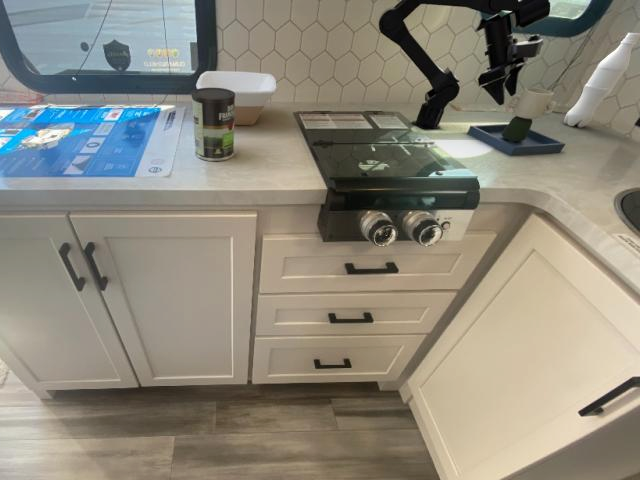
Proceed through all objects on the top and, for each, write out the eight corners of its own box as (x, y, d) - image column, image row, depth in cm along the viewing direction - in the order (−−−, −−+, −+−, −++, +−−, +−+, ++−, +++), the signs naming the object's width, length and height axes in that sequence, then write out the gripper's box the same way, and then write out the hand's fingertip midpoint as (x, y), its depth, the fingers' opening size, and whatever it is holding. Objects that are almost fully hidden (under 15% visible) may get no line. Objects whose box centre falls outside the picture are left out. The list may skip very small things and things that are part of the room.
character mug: (534, 141, 103) (564, 92, 94) (529, 147, 99) (560, 97, 90) (494, 132, 108) (519, 84, 99) (488, 137, 104) (514, 88, 95)
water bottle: (564, 126, 116) (624, 33, 99) (558, 120, 121) (615, 30, 103) (588, 129, 114) (655, 36, 97) (582, 123, 119) (644, 33, 102)
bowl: (271, 108, 120) (274, 73, 112) (274, 133, 102) (278, 93, 95) (203, 105, 120) (202, 69, 112) (195, 129, 102) (192, 89, 95)
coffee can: (241, 151, 92) (243, 91, 82) (219, 165, 85) (218, 101, 75) (210, 143, 95) (208, 84, 85) (186, 155, 89) (182, 93, 79)
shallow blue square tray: (509, 155, 96) (514, 147, 94) (466, 133, 108) (470, 125, 106) (560, 152, 99) (565, 143, 97) (513, 130, 111) (517, 123, 109)
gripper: (524, 29, 83) (532, 97, 88) (548, 16, 91) (554, 78, 96) (472, 54, 92) (482, 114, 97) (498, 40, 100) (506, 95, 106)
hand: (507, 100), depth 99 cm, fingers open, 9 cm apart
